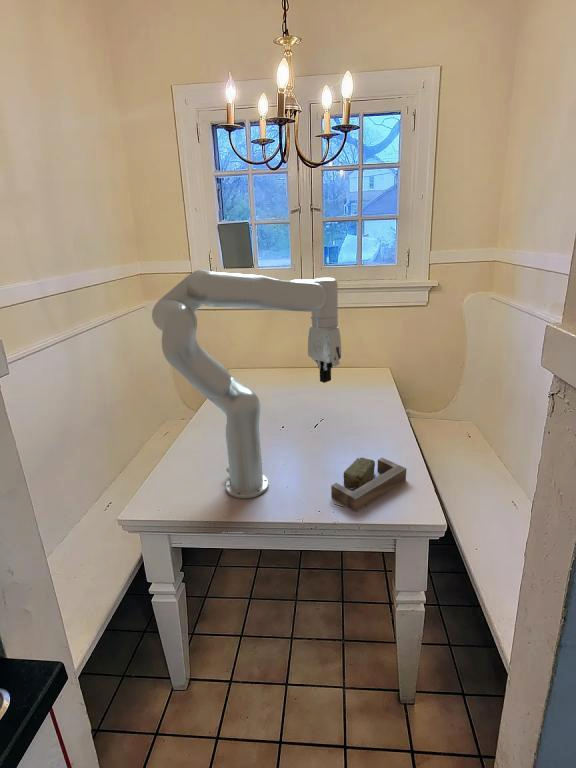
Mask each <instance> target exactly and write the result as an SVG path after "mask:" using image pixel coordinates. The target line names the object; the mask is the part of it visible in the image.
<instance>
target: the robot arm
mask: <svg viewBox="0 0 576 768" xmlns="http://www.w3.org/2000/svg"><path fill="white" fill-rule="evenodd" d="M338 301H339V300H338V281H337V280H336V279H335V278H334V277H317V278H314V279H292V280H283V279H277V278H273V277H270V276H265V275H258V274H248V273H247V274H246V273H244V274H243V273H233V272H232V273H231V272H218V271H210V270H205V269H197V270H195V271H193V272H191V273H190V274H188V275H187V276H185V277H184V278H183V279H182V280H181V281H180V282H178V283H177V284H176V285H175V286H174V287H173V288H172V289H171V290H169V291H167V293H166V294H165V295H164V296H162V297H161V298H159V300H158V301H157V302H156V303H155V305H154V306H153V309H152V311H151V318H152V321H153V324H154V325H155V326H156V328H158V329H159V330H160V331H161V333H162V334H161V348H162V349H161V350H162V353H163V356H164V358H165V360H166V361H167V362H168V364H169V365H170V366H171V367H172V368H173V369H174V370H176V371H177V373H179V374H180V375H181V376H182V377H183V378H185V380H186V381H187V382H188V383H189V384H190V385H191V386H192V387H193V388H194V389H195V390H196V391H197V392H199V393H200V394H201V395H203V396H204V397H205V398H207V399H208V400H209V401H210V402H211V403H212V404H214V405H215V406H216V407H217V408H219V409H220V410H221V411H222V413H224V414H225V416H226V424H225V441H226V442H225V443H226V449H227V459H228V467H226V470H225V471H226V472H227V473H228V474H229V478H228V480H227V481H226V482H225V491H226V493H227V494H228V495H230V496H232V497H233V498H236V499H237V498H238V499H252V498H256V497H258V496H260V495H263V494H264V493H265V492H267V489H268V488H269V479H268V477H266V476H265V475H264V474H263V461H262V460H263V459H262V448H261V435H260V433H261V432H260V419H261V418H260V417H261V401H260V399H259V396H258V395H257V394H256V392H254V390H252V388H250V387H248V386H247V385H246V384H244V383H242V382H241V381H239V380H238V379H236V378H235V377H234V376H232V375H231V373H230V372H229V370H228V369H227V368H226V367H225V366H224V365H223V364H222V363H221V362H219V361H218V360H216V359H215V358H214V357H213V356H212V355H210V354H209V353H208V352H207V351H206V350H205V348H203V347H202V346H201V345H200V344H199V342H198V340H197V329H198V319H197V318H198V317H197V315H196V313H195V312H197V311H198V310H200V308H201V307H202V306H206V307H207V306H208V307H212V308H234V309H235V308H237V309H239V308H240V309H241V308H242V309H258V310H269V311H271V310H273V311H284V312H285V311H288V312H308V313H309V312H311V316H310V320H311V325H310V326H309V330H308V335H307V336H308V338H307V339H308V340H307V354H308V355H307V356H308V357H309V358H311V359H312V360H313V361H315V362H316V364H317V368H318V369H319V381H320V382H321V383H325V384H326V383H329V382H331V380H332V369H333V367H338V366H340V363H341V362H340V360H341V358H342V341H341V332H340V328H339V326H338V324H339V321H338V317H339V316H338V315H339V314H338V313H339V312H338V307H339V306H338V305H339V304H338Z"/></svg>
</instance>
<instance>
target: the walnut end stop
mask: <svg viewBox="0 0 576 768" xmlns="http://www.w3.org/2000/svg"><path fill="white" fill-rule="evenodd" d="M376 470H377V472H378V473H380V475H378V476H376V477H374V478H373V479H372V480H371V479H370V480H369V481H368V482H367V483H366V484H364V485H363V486H361V487H359V488H358V489H356V488H355V489H353V490H350V488H348V487H346V486H344V485H341V484H339V483H337V482H335V483H333V484H331V494H330V495H331V498H332V499H333V500H334V501H337V502H338V503H339V504H341V505H343V506H344V507H346V508H348V509H349V510H352V511H353V512H355V513H356V512H358V511H359V510H361V509H363V508H364V507H366V506H368V505H369V504H371V503H372V502H374V501H375V500H377V499H378V498H380V497H382V496H384V495H385V494H386V493H388V492H390V491H391V490H393V489H394V488H396V487H397V486H399V485H401V484H402V483H404V482H406V481H407V468H406V467H404V466H401V465H399V464H397V463H395V462H393V461H391V460H388V459H387V458H384V457H381V458H379V459H377V469H376Z"/></svg>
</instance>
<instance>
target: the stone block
mask: <svg viewBox="0 0 576 768" xmlns="http://www.w3.org/2000/svg"><path fill="white" fill-rule="evenodd" d="M375 465H376V461H375V460H373V459H369V458H366V457H359V458H358V457H357V458H356V459H355V460H354V461H353V462H352V463H351V465H349V466H348V467H347V468H346V470H344V471H343V486H344V487H346V488H347V489H352V490H356V489H358V488H359V487H361V486H363V485H364V484H366V483H368V482H369V481H371V478H372V477H373V476H374V474H375V467H376V466H375Z"/></svg>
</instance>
